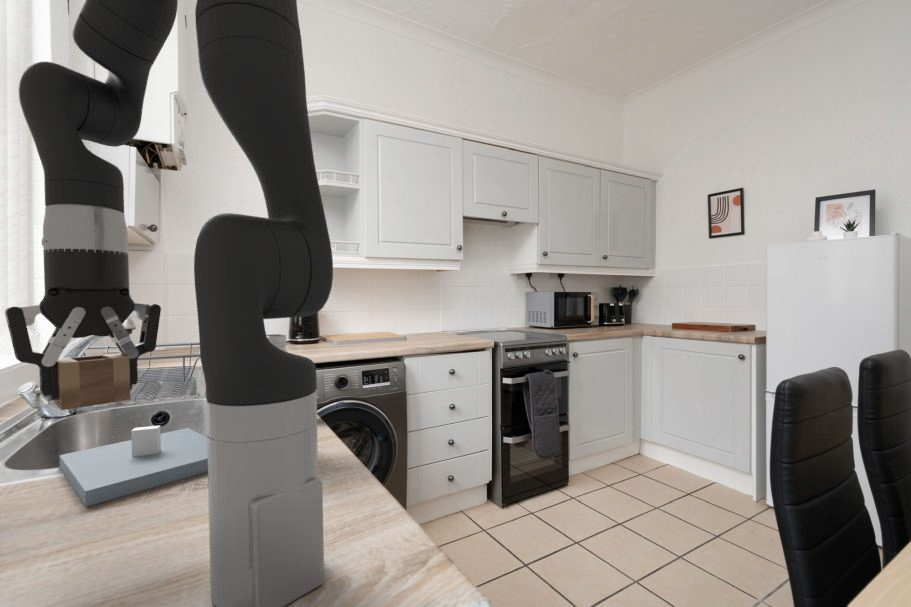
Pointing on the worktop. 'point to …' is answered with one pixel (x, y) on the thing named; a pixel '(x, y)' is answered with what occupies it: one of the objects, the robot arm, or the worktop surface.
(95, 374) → the tan hollow open box
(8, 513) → the worktop surface
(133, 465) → the flat blue-gray panel
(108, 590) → the worktop surface
